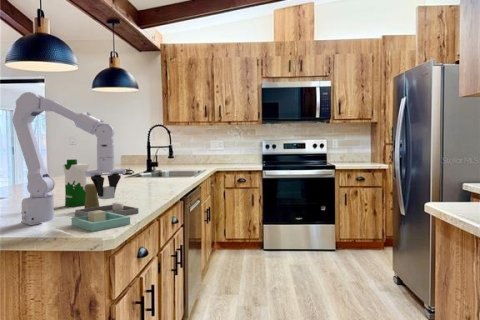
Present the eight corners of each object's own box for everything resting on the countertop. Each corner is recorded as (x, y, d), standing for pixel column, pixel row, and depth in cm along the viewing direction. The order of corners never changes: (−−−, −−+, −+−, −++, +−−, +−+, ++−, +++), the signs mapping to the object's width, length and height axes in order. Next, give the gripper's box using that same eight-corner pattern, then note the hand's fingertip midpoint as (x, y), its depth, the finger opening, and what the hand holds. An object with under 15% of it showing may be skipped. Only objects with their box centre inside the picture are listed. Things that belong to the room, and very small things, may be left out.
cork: (95, 209, 156) (94, 182, 156) (103, 211, 152) (102, 183, 152) (81, 211, 152) (80, 183, 151) (88, 213, 148) (88, 185, 147)
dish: (92, 233, 116) (92, 223, 115) (71, 227, 124) (71, 217, 124) (130, 225, 126) (130, 216, 125) (108, 220, 134) (108, 212, 134)
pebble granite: (116, 213, 143) (116, 204, 143) (110, 212, 146) (110, 203, 146) (125, 212, 147) (125, 203, 146) (119, 211, 149) (119, 202, 149)
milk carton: (61, 206, 165) (60, 159, 164) (80, 203, 172) (79, 158, 171) (74, 207, 160) (73, 160, 159) (92, 204, 168) (91, 159, 166)
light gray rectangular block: (104, 199, 134) (104, 188, 134) (98, 198, 136) (98, 187, 136) (114, 198, 137) (114, 187, 137) (108, 197, 139) (108, 186, 139)
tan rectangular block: (94, 225, 124) (94, 213, 124) (88, 223, 126) (87, 211, 126) (105, 223, 127) (105, 211, 127) (99, 221, 129) (99, 210, 129)
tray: (96, 222, 132) (96, 214, 131) (75, 216, 141) (75, 209, 141) (138, 214, 144) (138, 208, 144) (116, 210, 154) (116, 204, 154)
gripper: (92, 158, 128) (93, 199, 129) (129, 157, 139) (130, 194, 140) (81, 158, 132) (82, 197, 133) (118, 156, 143) (119, 192, 144)
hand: (106, 195), depth 137 cm, fingers closed on light gray rectangular block, 4 cm apart
